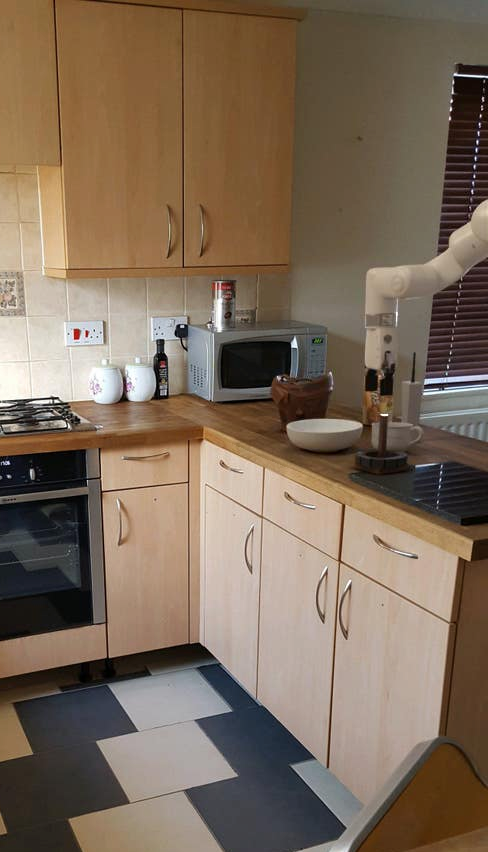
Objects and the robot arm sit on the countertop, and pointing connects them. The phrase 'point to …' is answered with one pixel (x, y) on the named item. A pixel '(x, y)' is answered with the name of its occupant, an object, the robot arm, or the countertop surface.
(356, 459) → the ring
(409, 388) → the vintage mobile phone
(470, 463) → the countertop surface
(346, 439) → the serving bowl
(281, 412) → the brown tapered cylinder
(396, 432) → the teacup
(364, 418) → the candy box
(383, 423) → the post
